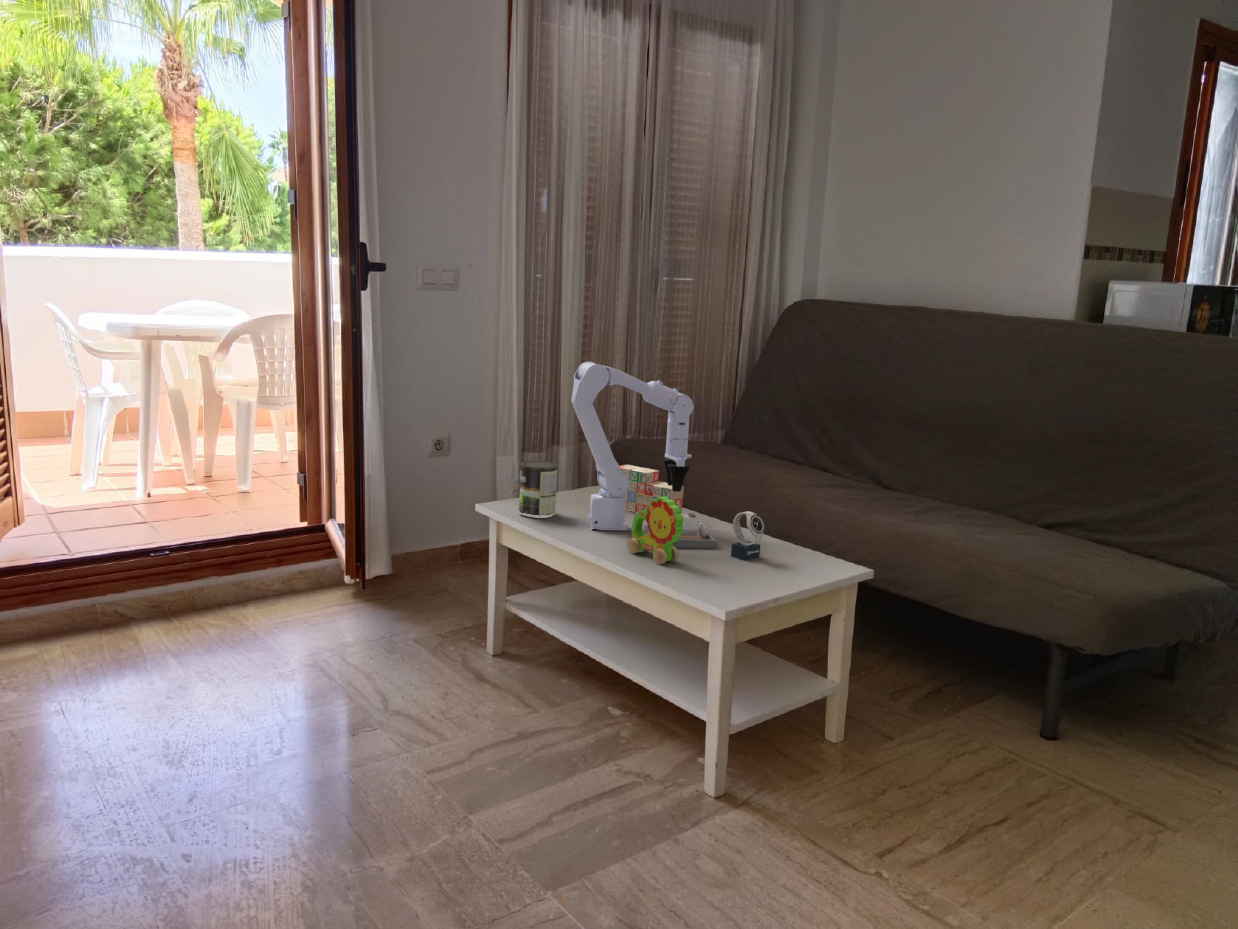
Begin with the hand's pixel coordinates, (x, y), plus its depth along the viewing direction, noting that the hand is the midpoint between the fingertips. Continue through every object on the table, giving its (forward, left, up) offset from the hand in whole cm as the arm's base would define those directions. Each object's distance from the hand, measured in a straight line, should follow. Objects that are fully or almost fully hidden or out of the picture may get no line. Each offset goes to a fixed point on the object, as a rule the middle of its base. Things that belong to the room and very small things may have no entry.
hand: (674, 488), depth 246 cm
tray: (-1, -15, -10) cm, 18 cm away
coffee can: (-36, +10, -11) cm, 39 cm away
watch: (+13, -29, -11) cm, 34 cm away
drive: (-1, -15, -9) cm, 17 cm away
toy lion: (-10, -32, -11) cm, 35 cm away
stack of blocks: (-5, +15, -11) cm, 19 cm away
